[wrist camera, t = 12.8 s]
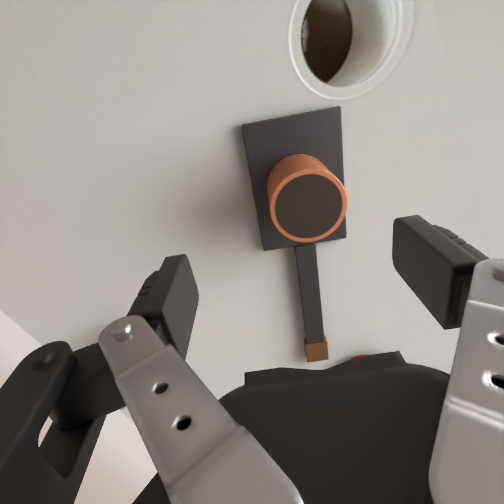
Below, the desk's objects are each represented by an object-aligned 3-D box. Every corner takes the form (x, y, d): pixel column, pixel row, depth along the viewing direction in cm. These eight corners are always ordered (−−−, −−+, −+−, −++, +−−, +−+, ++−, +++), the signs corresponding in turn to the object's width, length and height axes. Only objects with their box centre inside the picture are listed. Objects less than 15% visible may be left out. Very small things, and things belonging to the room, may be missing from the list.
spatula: (241, 124, 29) (241, 125, 28) (338, 106, 28) (342, 106, 27) (283, 357, 42) (283, 365, 41) (349, 349, 42) (352, 356, 40)
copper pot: (262, 160, 30) (264, 176, 24) (327, 148, 29) (346, 162, 23) (271, 220, 32) (275, 248, 26) (331, 210, 32) (349, 236, 26)
